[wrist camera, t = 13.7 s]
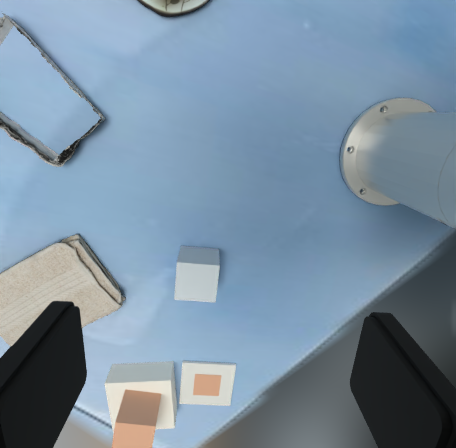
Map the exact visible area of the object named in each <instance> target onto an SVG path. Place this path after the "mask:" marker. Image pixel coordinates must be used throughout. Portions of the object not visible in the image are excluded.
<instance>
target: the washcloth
mask: <svg viewBox="0 0 456 448" xmlns="http://www.w3.org/2000/svg"><path fill="white" fill-rule="evenodd" d="M125 299H126V297H123V295H121V293H120V289H119V286H118V284H117V283H116V281H115V280H114V279H113V277H112V276H111V274H110V273H109V272H108V271H107V269H106V268H105V267H104V266H103V265H102V264H101V263H100V261H99V260H98V258H97V257H96V256H95V254H94V253H93V251H92V250H91V249H90V248H89V246H88V245H87V244H86V242H85V241H84V240H83V239H82V238H81V236H80V235H78V234H75V235H74V236H70V237H68V238H67V239H63V240H62V242H61V243H60V242H58V243H54V244H52V245H50V246H48V247H46V248H44V249H43V250H41V251H39V252H37V253H35V254H34V255H32V256H30V257H28V258H27V259H25V260H23V261H21V262H19V263H18V264H16V265H14V266H12V267H11V268H9V269H7V270H6V271H4V272H2V273H1V274H0V336H1V337H2V338H3V339H4V340H5V342H6V343H7V344H9V345H10V347H11V346H12V345H13V344H14V343H15V342H16V341H17V340H18V339H19V338H20V337H21V336H22V334H23V333H24V332H25V331H26V330H27V329H28V328H29V327H30V325H31V324H32V323H33V322H34V321H35V320H36V319H37V318H38V316H39V315H40V314H41V313H42V312H43V311H44V310H45V309H46V307H47V306H48V305H49V304H50V303H51V302H52V301H72V302H73V303H74V305H75V306H78V307H79V309H80V316H81V325H82V328H83V327H84V326H86V325H87V324H90V323H93V322H94V321H96V320H97V319H99V318H102V317H104V316H106V315H108V314H111V313H112V312H114V311H116V310H118V309H119V308H121V307H122V305H123V304H122V302H123V301H124V300H125Z"/></svg>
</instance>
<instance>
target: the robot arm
mask: <svg viewBox="0 0 456 448" xmlns="http://www.w3.org/2000/svg"><path fill="white" fill-rule="evenodd" d="M380 108H382V110H381V112H380ZM348 147H349V150H348V151H347V148H348ZM340 168H341V173H342V176H343V179H344V181H345V183H346V184H347V186H348V188H349V189H350V190H351V191H352V192H353V193H354V194H355V195H356V196H358V197H359V198H361V199H363V200H365V201H366V202H369V203H372V204H375V205H383V206H388V205H396V204H400V203H401V204H403V205H405V206H408V207H410V208H412V209H414V210H416V211H418V212H420V213H422V214H424V215H427V216H429V217H431V218H433V219H435V220H437V221H439V222H441V223H444V224H446V225H448V226H450V227H452V228H454V229H456V112H436V111H435V110H434V109H433V108H432V107H431V106H429V105H428V104H426V103H424V102H422V101H420V100H416V99H412V98H394V99H389V100H385V101H382V102H379V103H377V104H375V105H373V106H371V107H370V108H369V109H367V110H366V111H364V112H363V113H362V114H361V115H360V116H359V117H358V118H357V119H356V120H355V121H354V122H353V124H352V125H351V127H350V128H349V130H348V132H347V134H346V136H345V138H344V140H343V144H342V147H341V152H340ZM360 189H362V190H361V191H360ZM86 376H87V370H86V361H85V352H84V343H83V334H82V325H81V316H80V309H79V307H78V306H75V305H74V303H73V302H72V301H52V302H51V303H50V304H49V305H48V306H47V307H46V309H45V310H44V311H43V312H42V313H41V314H40V315H39V316H38V318H37V319H36V320H35V321H34V322H33V323H32V324H31V325H30V327H29V328H28V329H27V330H26V331H25V332H24V333H23V334H22V336H21V337H20V338H19V339H18V340H17V341H16V342H15V343H14V344H13V345H12V346H11V347H10V348H9V349H8V350H7V351H6V352H5V354H4V355H3V356H2V357H1V358H0V448H53V447H54V444H55V442H56V440H57V438H58V436H59V434H60V432H61V430H62V428H63V426H64V424H65V422H66V420H67V418H68V416H69V414H70V412H71V410H72V408H73V406H74V404H75V402H76V400H77V398H78V396H79V394H80V392H81V390H82V388H83V386H84V384H85V381H86ZM350 387H351V391H352V393H353V395H354V397H355V399H356V401H357V404H358V406H359V408H360V410H361V412H362V414H363V416H364V419H365V421H366V423H367V425H368V427H369V429H370V431H371V433H372V435H373V438H374V440H375V441H376V444H377V446H378V448H456V389H455V387H454V386H453V385H452V384H451V383H450V382H449V380H448V379H447V378H446V377H445V376H444V374H443V373H442V372H441V371H440V370H439V369H438V367H437V366H436V365H435V364H434V363H433V362H432V361H431V359H430V358H429V357H428V356H427V355H426V354H425V353H424V351H423V350H422V349H421V348H420V347H419V345H418V344H417V343H416V342H415V341H414V339H413V338H412V337H411V336H410V335H409V334H408V332H407V331H406V330H405V329H404V328H403V327H402V325H401V324H400V323H399V322H398V321H397V320H396V318H395V317H394V316H393V315H392V314H391V313H378V312H373V313H371V314H370V315H369V317H366V318H365V319H364V323H363V327H362V331H361V335H360V340H359V344H358V348H357V353H356V357H355V361H354V365H353V370H352V374H351V378H350Z"/></svg>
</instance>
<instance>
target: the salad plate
mask: <svg viewBox="0 0 456 448" xmlns="http://www.w3.org/2000/svg"><path fill="white" fill-rule="evenodd" d="M138 1H139V2H140V3H141V4H142V5H144V6H145V7H147V8H149V9H151V10H152V11H154V12H156V13H157V14H159V15H162V16H166V17H173V16H179V15H183V14H187V13H191V12H193V11H195V10H197V9H199V8H201V7H202V6H204V5H205V4H206V3H207V2H208V1H209V0H138Z"/></svg>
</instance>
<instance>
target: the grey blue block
mask: <svg viewBox="0 0 456 448" xmlns="http://www.w3.org/2000/svg"><path fill="white" fill-rule="evenodd" d="M219 269H220V260H219V249H214V248H202V247H190V246H181V247H180V251H179V255H178V260H177V268H176V283H175V297H174V300H187V301H201V302H216V294H217V286H218V277H219Z"/></svg>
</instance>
